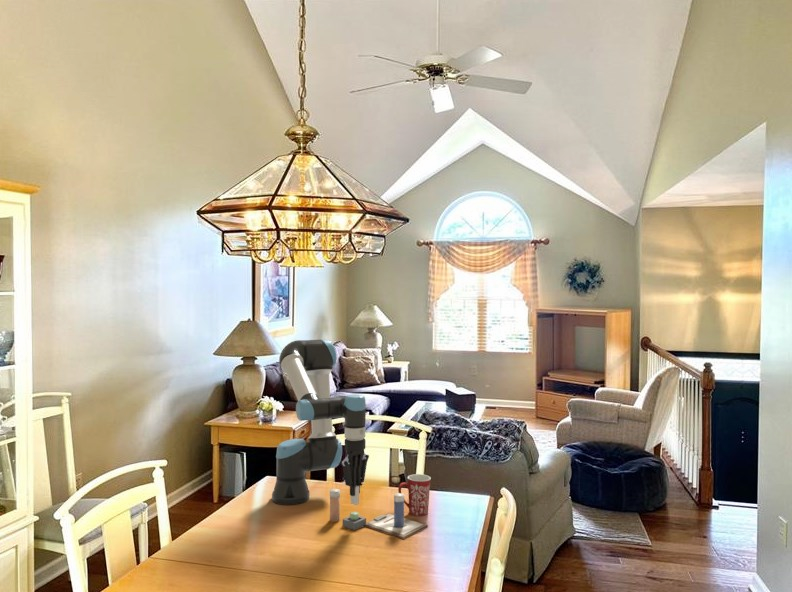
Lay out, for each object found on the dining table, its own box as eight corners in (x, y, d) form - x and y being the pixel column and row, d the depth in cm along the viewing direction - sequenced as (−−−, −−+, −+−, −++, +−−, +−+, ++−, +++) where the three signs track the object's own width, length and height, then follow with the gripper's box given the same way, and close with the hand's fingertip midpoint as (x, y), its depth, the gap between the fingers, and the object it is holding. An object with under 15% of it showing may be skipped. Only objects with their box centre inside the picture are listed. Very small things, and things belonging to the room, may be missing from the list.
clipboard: (364, 526, 212) (364, 521, 212) (388, 515, 223) (389, 511, 223) (403, 539, 201) (403, 534, 201) (427, 526, 212) (427, 522, 212)
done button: (348, 520, 212) (348, 513, 212) (354, 517, 215) (354, 511, 215) (354, 522, 210) (354, 515, 210) (360, 519, 213) (360, 513, 213)
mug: (426, 507, 231) (427, 473, 231) (433, 515, 223) (433, 480, 223) (395, 509, 229) (395, 475, 229) (401, 518, 220) (401, 482, 220)
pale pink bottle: (327, 520, 217) (327, 490, 217) (334, 517, 220) (334, 488, 220) (334, 523, 215) (334, 492, 215) (341, 520, 218) (342, 490, 218)
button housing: (342, 526, 212) (342, 519, 212) (353, 521, 217) (354, 514, 217) (354, 530, 208) (354, 523, 208) (366, 525, 213) (366, 518, 213)
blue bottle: (391, 526, 210) (391, 495, 210) (398, 522, 212) (398, 492, 212) (399, 528, 207) (400, 497, 207) (406, 525, 210) (406, 494, 210)
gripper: (350, 443, 205) (349, 511, 205) (374, 436, 215) (374, 501, 215) (334, 440, 210) (334, 506, 210) (359, 433, 220) (359, 497, 220)
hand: (354, 503), depth 212 cm, fingers closed
